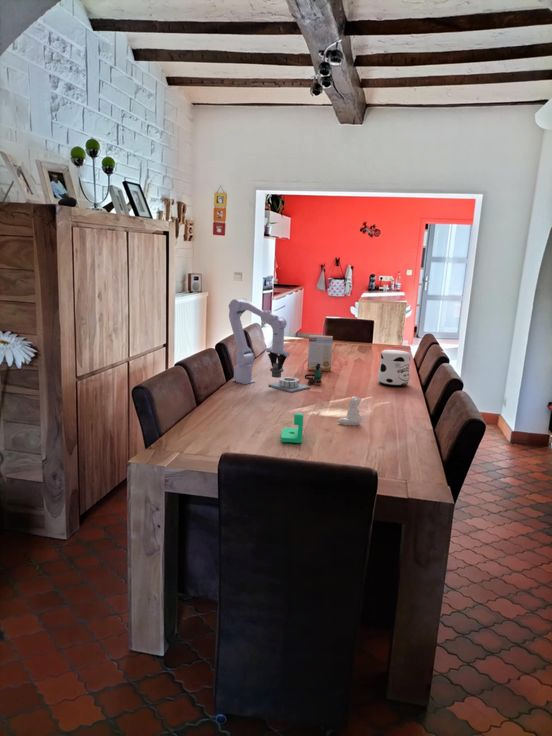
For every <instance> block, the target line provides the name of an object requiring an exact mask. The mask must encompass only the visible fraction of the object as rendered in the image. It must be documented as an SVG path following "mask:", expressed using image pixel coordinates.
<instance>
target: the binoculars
mask: <svg viewBox="0 0 552 736" xmlns="http://www.w3.org/2000/svg"><path fill="white" fill-rule="evenodd" d="M315 367H316V370H315V371H314V374H313V373H312V374H311V373H310V374H305V375H304V379H305V380H308V381H307V385H311V384H313V385H314V384H315V385H317V386H321V384H322V383H323V382H322V377H323V375H324V374H323V372H324V371H321V368H320V364H317V366H315ZM322 374H323V375H322Z"/></svg>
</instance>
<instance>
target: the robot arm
mask: <svg viewBox="0 0 552 736" xmlns="http://www.w3.org/2000/svg"><path fill="white" fill-rule="evenodd" d="M228 309H229V310H228V311H229V312H228V318H229V321H230V322H229V323H230V327H231V329H232V333H233V337H234V340H235V344H236V348H237V350H236V351H235V361H236V365H235V366H234V369H233V379H232V381H233V382H235V381H236V383H239V384H243V385H247V384H253V383H255V382H256V381H255V380H252V379H253V378H252V377H253V373H252V372H253V363H254V362H255V361H256V357H255V354H254V353H253V352H252V348H250V347H249V346H248V343H247V339H246V335H245V331H244V328H243V324H242V321H241V317H242V315H243V314H244V313H245V312H247V311H249V312H250V313H252V314H254V315H256V316H258V317H259V318H260V320H261V321H262V322H263V323H265V324H267V325H269V326H270V328H271V329H272V342H271V345H272V346H271V347H267V348H266V350H265V351H266V353H268V354H267V356H268V358H269V360H270V363H271V364H270V365H271V368H273V363H275V362H277V363H278V369H283V367H284V364H285V361H286V359H287V358H288V357H290V352H289V351H286V350H285V347H284V342H285V328H286V327H287V325H288V323H287V321H286V319H285V318H284V317H279V315H277V314H274V313H272V311H271V310H267V309H266V310H263V309H261V308H260V307H259V306H257V305H255V304H254V303H252V302H251V301H250V300H248V299H247V298H239V299H238V298H237V299H232V300H231V301H230V302H229V304H228Z"/></svg>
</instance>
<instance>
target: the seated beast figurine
mask: <svg viewBox="0 0 552 736" xmlns="http://www.w3.org/2000/svg"><path fill="white" fill-rule="evenodd" d="M361 401H362V398H361V397H360V398H359V397H357V396H352V397H351V399H350V400H349V403H348V406H349V407H348V409H347V413H346V416H345V417H341V418H339V419H338V420H337V423H340V424H339V425H341V424H346V425H345V426H351V425H354V426H353V427H355V426H356V427H357V426H360V425H361V423H362V420H363V419H362V416H361V414H360V410H359V407H358V406H359V405H360V403H361Z"/></svg>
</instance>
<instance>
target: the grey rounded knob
mask: <svg viewBox="0 0 552 736" xmlns="http://www.w3.org/2000/svg"><path fill="white" fill-rule="evenodd" d="M269 371H270V372H271V377H272V378H277V379H278V378H279V379H280V378H282V373H283V372H284V368H282V369H278V361H276V362H275V363H273V367H270V368H269Z"/></svg>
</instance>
